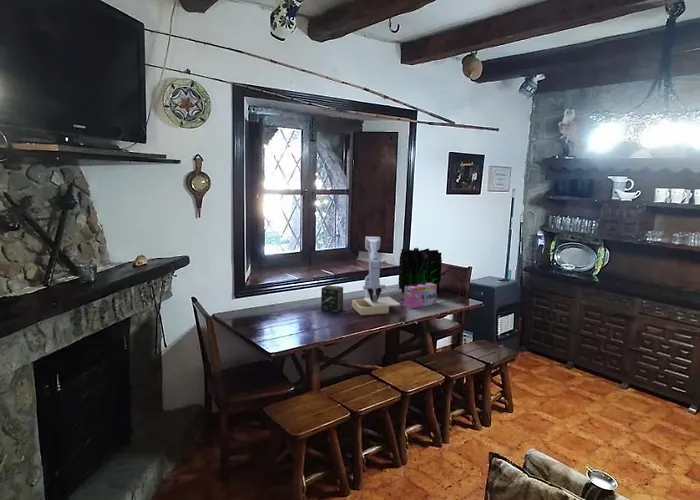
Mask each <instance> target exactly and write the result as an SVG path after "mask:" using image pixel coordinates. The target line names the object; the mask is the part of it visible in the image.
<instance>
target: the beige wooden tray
mask: <svg viewBox="0 0 700 500" xmlns="http://www.w3.org/2000/svg"><path fill="white" fill-rule="evenodd" d="M352 307H353V308H354V309H353V308H352ZM351 308H352V309H353V310H355V312H357V313H358V314H359V315H360V316H371V315H382V314H383V315H384V314H385V315H386V314H389V313H390V312H389V311H390V306H384V307H372V306H371V305H370V304H368V303H367V302H366V301H365V300H363V299H352V300H351Z"/></svg>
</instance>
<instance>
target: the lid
mask: <svg viewBox="0 0 700 500" xmlns="http://www.w3.org/2000/svg"><path fill="white" fill-rule="evenodd" d="M362 300H365V301H366V302H367V303H368V304H370V305H371V306H372V307H384V306H389V307H397V306H399V307H400V306H401V303H399V302H398V301H397V300H395V299H394V298H392V297H390V296H381V297H380V296H379V298H378V300H377V295H373V300H372V301H371V300H370V298H365V297H364V298H363V299H362Z"/></svg>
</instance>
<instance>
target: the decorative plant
mask: <svg viewBox="0 0 700 500" xmlns="http://www.w3.org/2000/svg"><path fill="white" fill-rule="evenodd" d="M400 251H401V252H400V255H399V264H398V265H399V267H398V289H399V290H401V293H403V294H404V289H405V286H408V285H414V284H420V283H425V282H431V283H432V284H437V291H436V294H437V293H438V294H439V293H440V282H441V280H442V279H441V278H442V265H443V264H442V263H443V259H442V252H439V249H430V248H425V249H419V247H414V248H413V249H407V248H401V249H400Z"/></svg>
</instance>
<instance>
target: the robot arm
mask: <svg viewBox="0 0 700 500" xmlns="http://www.w3.org/2000/svg"><path fill="white" fill-rule="evenodd" d="M381 240H382V239H381V237H380V236H365V239H364V243H365V245H364V247H365V250H367V251H368V274H367V276H365V278H364V285H363V287H362V289H363V290H364V298H370V300H371V301H372V300H373V295H377V300H378V298H379V297H380V295H381V293H382V291H383V290H382V289H386V288H387V285H386V284H381V282H380V276H381V275H380V273H381V272H380V271H381V267H382V262H381V259H380V253H379V252H378V251H379V250H380V248H381Z"/></svg>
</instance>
